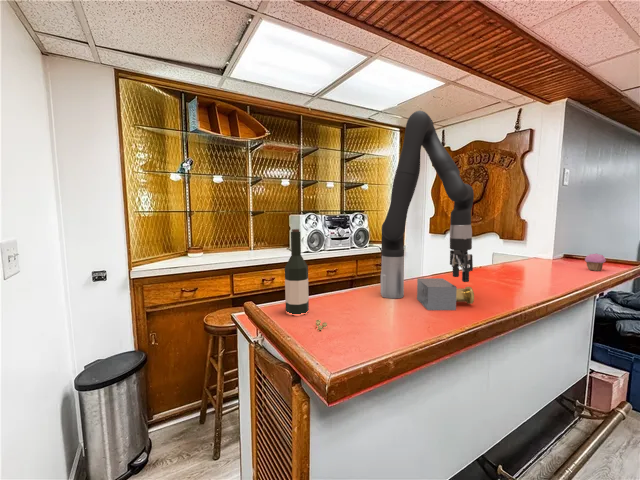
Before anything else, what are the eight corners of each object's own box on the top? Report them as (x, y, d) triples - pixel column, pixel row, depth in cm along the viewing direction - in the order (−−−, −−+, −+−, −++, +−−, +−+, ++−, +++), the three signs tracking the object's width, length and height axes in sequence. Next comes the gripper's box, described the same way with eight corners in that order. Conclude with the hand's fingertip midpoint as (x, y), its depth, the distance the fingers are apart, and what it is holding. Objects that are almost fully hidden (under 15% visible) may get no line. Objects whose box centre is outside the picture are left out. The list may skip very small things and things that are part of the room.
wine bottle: (300, 318, 101) (298, 230, 98) (280, 314, 105) (278, 229, 103) (313, 311, 108) (312, 228, 106) (295, 307, 113) (293, 228, 110)
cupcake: (608, 271, 170) (609, 254, 170) (598, 272, 168) (599, 254, 167) (590, 268, 179) (591, 252, 178) (580, 269, 177) (581, 253, 176)
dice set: (318, 325, 96) (318, 319, 96) (330, 328, 93) (330, 322, 93) (307, 329, 92) (307, 323, 92) (320, 334, 89) (319, 327, 89)
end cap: (438, 305, 111) (438, 289, 110) (432, 300, 117) (432, 285, 117) (473, 306, 110) (474, 289, 109) (466, 300, 116) (466, 284, 116)
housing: (427, 310, 107) (428, 286, 107) (417, 299, 121) (417, 278, 120) (455, 310, 107) (456, 286, 106) (442, 299, 121) (442, 278, 120)
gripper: (443, 235, 119) (443, 275, 120) (458, 238, 105) (458, 283, 106) (462, 235, 119) (462, 275, 120) (480, 238, 104) (479, 283, 106)
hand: (460, 279), depth 113 cm, fingers open, 8 cm apart
